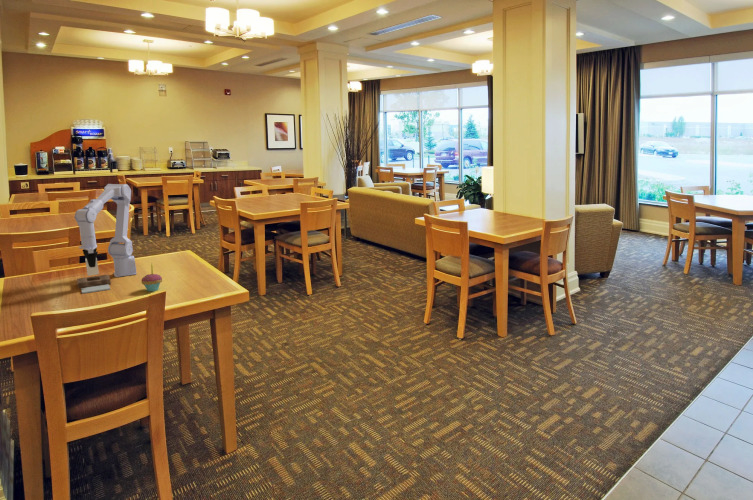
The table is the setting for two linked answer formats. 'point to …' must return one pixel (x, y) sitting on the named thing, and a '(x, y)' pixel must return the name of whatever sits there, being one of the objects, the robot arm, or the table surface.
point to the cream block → (92, 268)
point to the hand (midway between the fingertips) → (92, 265)
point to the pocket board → (93, 281)
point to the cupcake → (152, 281)
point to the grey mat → (95, 289)
